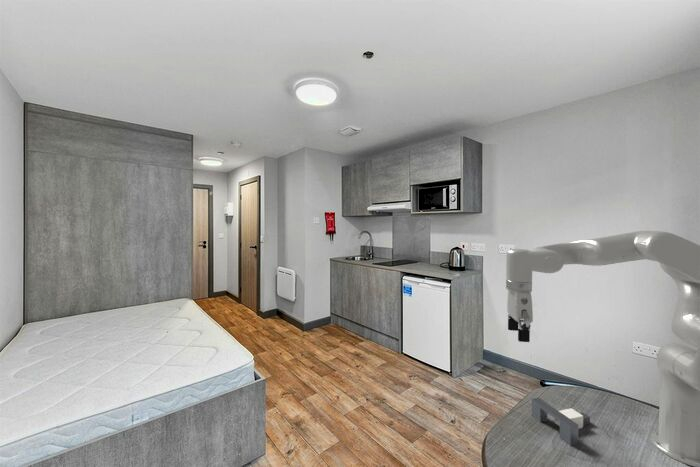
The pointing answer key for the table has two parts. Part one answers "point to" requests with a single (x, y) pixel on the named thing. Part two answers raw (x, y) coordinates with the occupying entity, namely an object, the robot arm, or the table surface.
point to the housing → (566, 425)
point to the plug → (575, 417)
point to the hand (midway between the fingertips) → (518, 335)
